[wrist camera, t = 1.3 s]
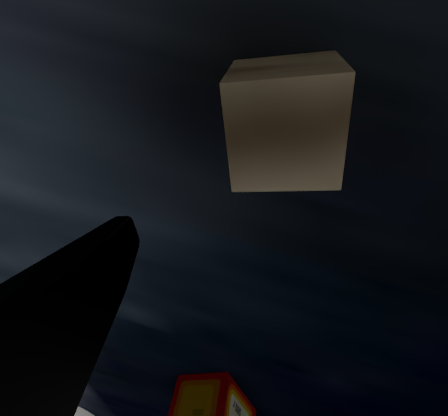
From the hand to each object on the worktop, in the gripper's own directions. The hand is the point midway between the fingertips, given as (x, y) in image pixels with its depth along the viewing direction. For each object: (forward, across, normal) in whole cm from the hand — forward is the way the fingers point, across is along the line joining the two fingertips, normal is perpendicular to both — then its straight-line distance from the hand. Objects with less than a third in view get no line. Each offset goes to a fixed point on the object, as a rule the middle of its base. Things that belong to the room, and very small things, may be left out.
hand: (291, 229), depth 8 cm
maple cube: (+11, 0, 0) cm, 11 cm away
